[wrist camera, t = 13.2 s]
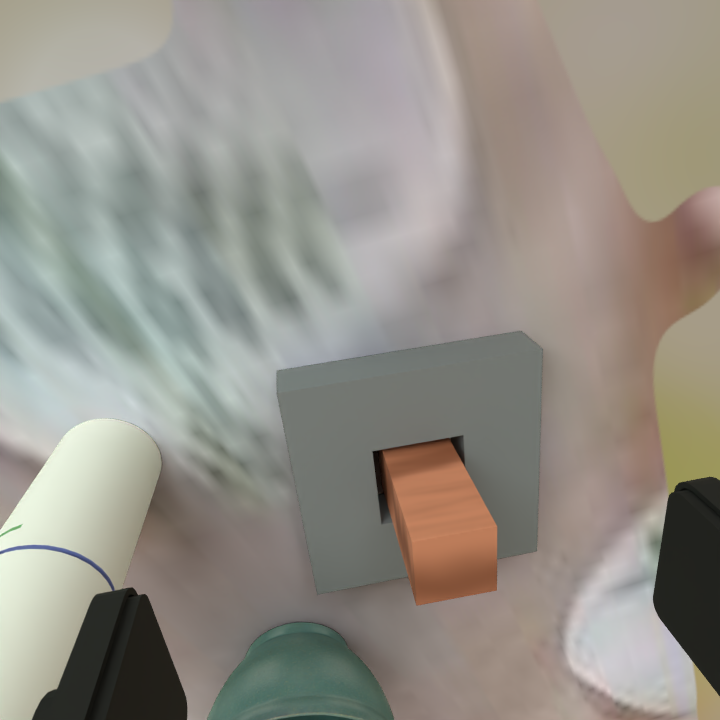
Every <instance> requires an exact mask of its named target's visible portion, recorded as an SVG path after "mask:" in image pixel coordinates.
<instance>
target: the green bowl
mask: <svg viewBox="0 0 720 720" xmlns="http://www.w3.org/2000/svg"><path fill="white" fill-rule="evenodd" d="M207 720H394V717H393V714H392V712H391V709H390V706H389V704H388V701H387V699H386V697H385V695H384V693H383V690H382V688H381V687H380V685H379V683H378V682H377V680H376V678H375V677H374V675H373V674H372V673H371V671H370V670H369V669H368V667H367V666H366V665H365V664H364V663H363V662H362V660H361V659H360V658H359V657H357V656H356V655H355V654H354V653H353V652H352V651H351V650H349V649H348V647H347V644H346V643H345V641H344V639H343V638H342V637H341V636H340V635H339V634H338V633H337V632H335V631H334V630H332V629H330V628H328V627H326V626H323V625H319V624H315V623H307V622H298V623H290V624H286V625H282V626H279V627H276V628H274V629H271V630H269V631H267V632H266V633H264V634H263V635H261V636H260V637H259V638H257V639H256V640H255V641H254V643H253V644H252V645H251V646H250V648H249V650H248V652H247V654H246V657H245V659H244V660H243V661H242V662H241V663H240V664H239V665H238V667H237V668H236V669H235V670H234V671H233V673H232V674H231V675H230V677H229V678H228V680H227V681H226V683H225V684H224V686H223V688H222V689H221V691H220V693H219V695H218V696H217V698H216V700H215V702H214V705H213V707H212V709H211V711H210V713H209V716H208V718H207Z"/></svg>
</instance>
